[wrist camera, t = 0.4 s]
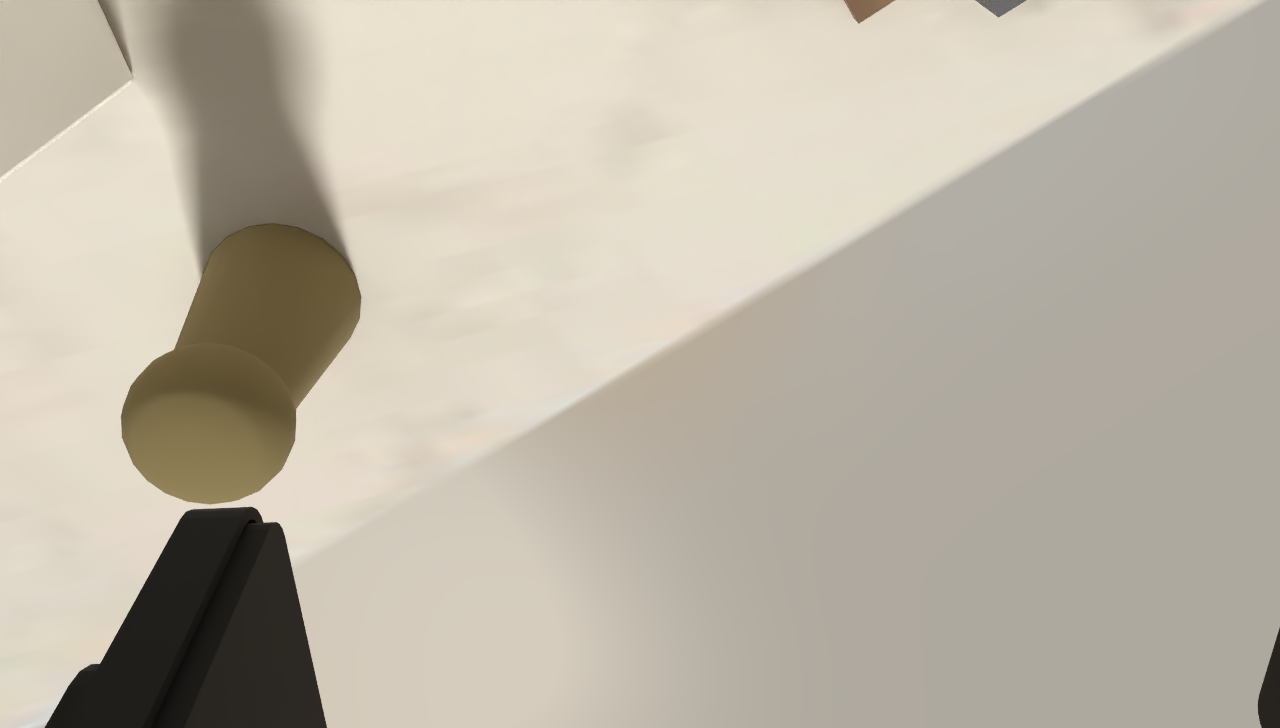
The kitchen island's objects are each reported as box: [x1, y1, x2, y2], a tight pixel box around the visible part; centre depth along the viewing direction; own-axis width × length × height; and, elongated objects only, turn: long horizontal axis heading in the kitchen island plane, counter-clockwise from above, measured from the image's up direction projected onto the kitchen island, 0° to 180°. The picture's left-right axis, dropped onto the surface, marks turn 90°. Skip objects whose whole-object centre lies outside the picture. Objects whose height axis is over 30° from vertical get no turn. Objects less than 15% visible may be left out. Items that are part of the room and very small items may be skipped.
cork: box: [121, 224, 361, 504], centre depth 39 cm, size 6×6×11 cm
